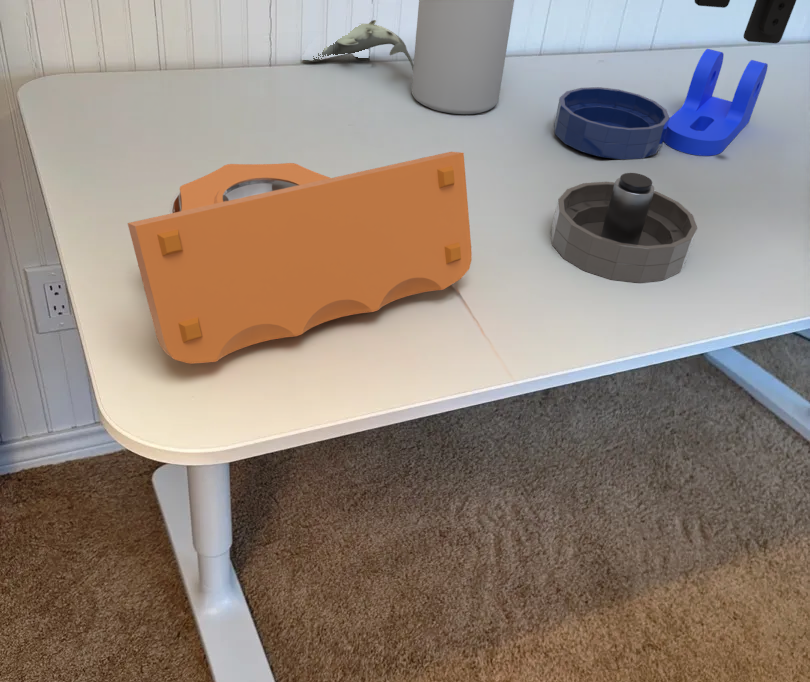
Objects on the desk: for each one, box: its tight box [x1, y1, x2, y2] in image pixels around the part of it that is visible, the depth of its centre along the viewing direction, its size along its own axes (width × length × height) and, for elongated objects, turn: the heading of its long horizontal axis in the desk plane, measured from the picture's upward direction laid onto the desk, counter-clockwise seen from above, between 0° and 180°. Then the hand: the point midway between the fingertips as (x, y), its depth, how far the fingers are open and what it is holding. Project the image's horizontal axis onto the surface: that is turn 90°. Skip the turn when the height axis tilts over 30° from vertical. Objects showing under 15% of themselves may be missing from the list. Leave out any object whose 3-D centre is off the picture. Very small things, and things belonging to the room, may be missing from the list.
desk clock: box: [127, 151, 473, 365], centre depth 76 cm, size 12×30×20 cm
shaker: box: [601, 172, 656, 245], centre depth 86 cm, size 4×4×8 cm
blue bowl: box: [553, 86, 671, 160], centre depth 110 cm, size 14×14×4 cm
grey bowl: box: [550, 181, 698, 284], centre depth 87 cm, size 14×14×4 cm
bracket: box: [663, 48, 769, 157], centre depth 113 cm, size 18×8×9 cm, turn 148°
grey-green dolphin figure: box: [313, 19, 414, 70], centre depth 124 cm, size 14×17×8 cm
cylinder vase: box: [411, 0, 515, 115], centre depth 110 cm, size 12×12×25 cm
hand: (734, 22), depth 72 cm, fingers open, 9 cm apart
